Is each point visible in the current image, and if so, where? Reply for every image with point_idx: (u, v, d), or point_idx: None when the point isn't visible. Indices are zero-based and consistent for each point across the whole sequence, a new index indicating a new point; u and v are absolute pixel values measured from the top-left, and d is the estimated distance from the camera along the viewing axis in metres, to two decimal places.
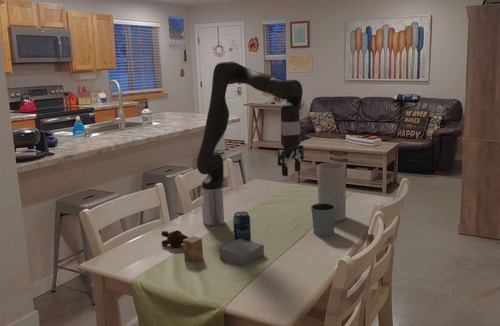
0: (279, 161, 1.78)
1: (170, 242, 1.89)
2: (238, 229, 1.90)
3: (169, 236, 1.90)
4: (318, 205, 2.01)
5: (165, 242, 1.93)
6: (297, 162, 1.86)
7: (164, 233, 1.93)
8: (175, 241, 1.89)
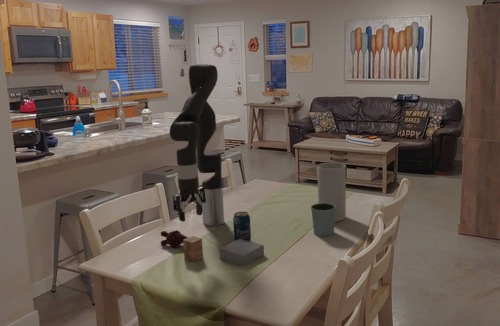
0: (175, 206, 1.70)
1: (169, 242, 1.89)
2: (238, 229, 1.90)
3: (168, 236, 1.90)
4: (318, 205, 2.01)
5: (164, 242, 1.93)
6: (198, 205, 1.78)
7: (163, 233, 1.93)
8: (174, 241, 1.89)
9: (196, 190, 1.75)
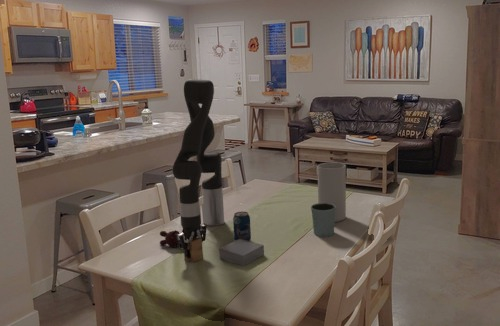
0: (180, 244, 1.74)
1: (168, 242, 1.89)
2: (238, 229, 1.90)
3: (167, 236, 1.90)
4: (318, 205, 2.01)
5: (163, 242, 1.93)
6: None
7: (162, 233, 1.93)
8: (173, 241, 1.89)
9: (199, 226, 1.78)
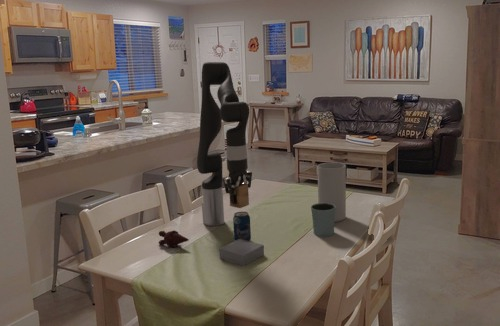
0: (227, 189, 1.70)
1: (166, 242, 1.89)
2: (238, 229, 1.90)
3: (166, 236, 1.90)
4: (318, 205, 2.01)
5: (162, 242, 1.93)
6: None
7: (161, 233, 1.93)
8: (171, 241, 1.89)
9: (245, 171, 1.74)
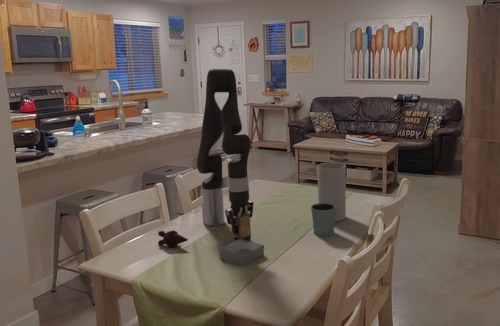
0: (228, 220, 1.72)
1: (166, 242, 1.90)
2: None
3: (165, 236, 1.90)
4: (318, 205, 2.01)
5: (161, 242, 1.93)
6: None
7: (160, 233, 1.93)
8: (170, 241, 1.89)
9: (246, 202, 1.76)
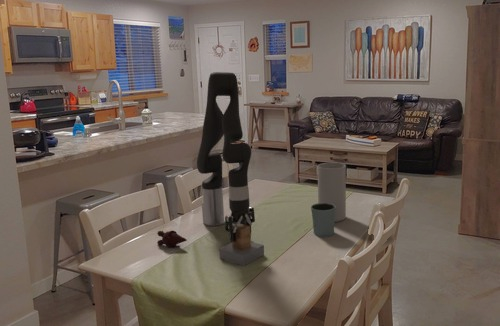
0: (226, 227, 1.72)
1: (165, 242, 1.90)
2: None
3: (164, 236, 1.90)
4: (318, 205, 2.01)
5: (160, 242, 1.93)
6: None
7: (159, 233, 1.93)
8: (169, 241, 1.89)
9: (246, 210, 1.77)
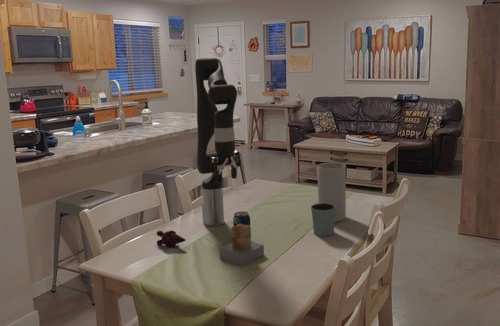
0: (212, 168, 1.72)
1: (164, 242, 1.90)
2: None
3: (163, 236, 1.90)
4: (318, 205, 2.01)
5: (160, 242, 1.93)
6: (233, 169, 1.80)
7: (158, 233, 1.93)
8: (169, 241, 1.89)
9: (232, 153, 1.77)
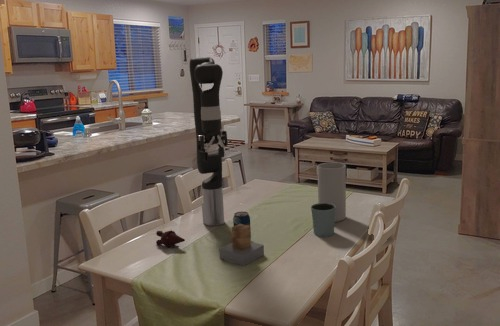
0: (199, 146, 1.76)
1: (163, 242, 1.90)
2: None
3: (162, 236, 1.90)
4: (318, 205, 2.01)
5: (159, 242, 1.93)
6: (220, 148, 1.84)
7: (158, 233, 1.94)
8: (168, 241, 1.89)
9: (219, 132, 1.81)
